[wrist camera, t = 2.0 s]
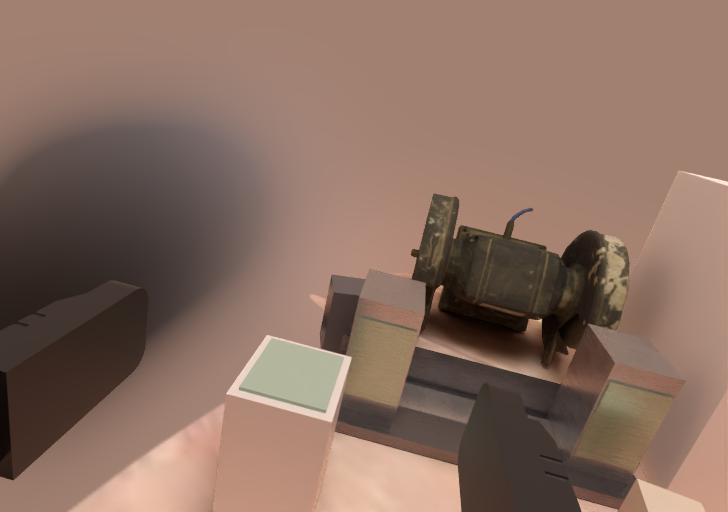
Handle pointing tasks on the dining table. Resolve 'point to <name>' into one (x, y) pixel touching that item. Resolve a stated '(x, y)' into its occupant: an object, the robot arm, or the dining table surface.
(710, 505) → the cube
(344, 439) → the dining table surface
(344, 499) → the dining table surface
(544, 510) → the robot arm
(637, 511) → the beige rectangular block
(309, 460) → the block
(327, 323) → the relay
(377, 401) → the rail
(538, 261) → the bench grinder
